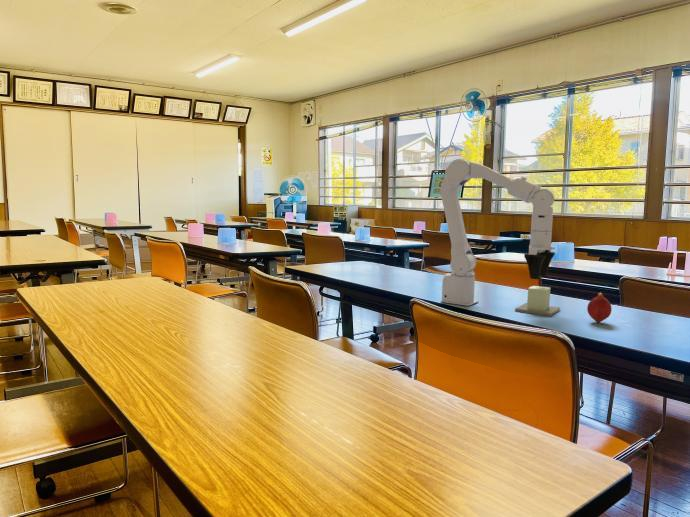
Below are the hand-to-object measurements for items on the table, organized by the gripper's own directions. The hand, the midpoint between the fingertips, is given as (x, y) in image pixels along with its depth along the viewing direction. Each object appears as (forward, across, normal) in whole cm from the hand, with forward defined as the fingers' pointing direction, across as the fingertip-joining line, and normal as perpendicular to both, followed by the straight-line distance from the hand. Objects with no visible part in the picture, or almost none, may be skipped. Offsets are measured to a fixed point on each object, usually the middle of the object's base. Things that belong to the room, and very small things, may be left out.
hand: (538, 277), depth 149 cm
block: (+9, 0, -1) cm, 9 cm away
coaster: (+10, 0, 0) cm, 10 cm away
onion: (+10, -4, -18) cm, 21 cm away
